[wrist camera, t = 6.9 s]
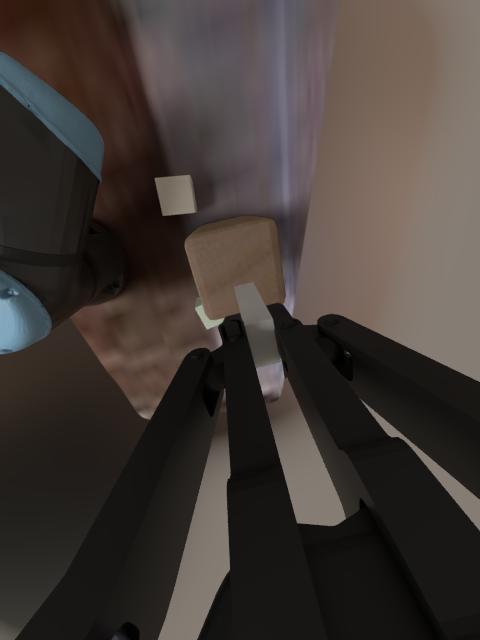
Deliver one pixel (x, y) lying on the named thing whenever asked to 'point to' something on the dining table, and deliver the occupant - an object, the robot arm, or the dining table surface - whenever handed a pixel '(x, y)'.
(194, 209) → the cream cube
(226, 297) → the wooden block
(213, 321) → the sage cube
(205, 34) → the dining table surface
